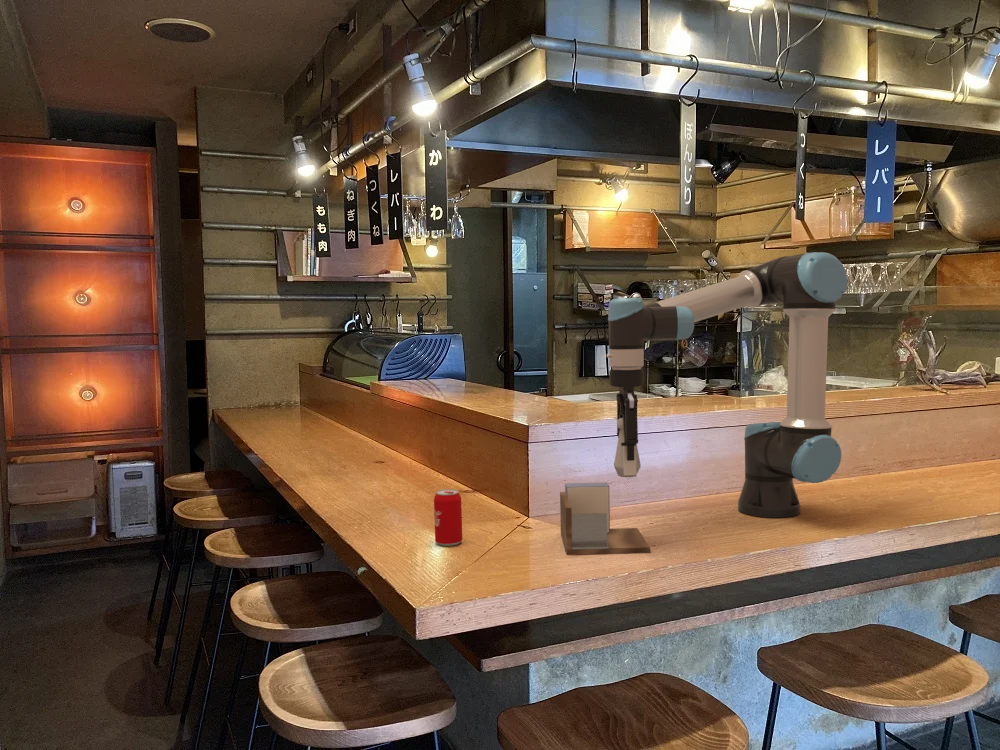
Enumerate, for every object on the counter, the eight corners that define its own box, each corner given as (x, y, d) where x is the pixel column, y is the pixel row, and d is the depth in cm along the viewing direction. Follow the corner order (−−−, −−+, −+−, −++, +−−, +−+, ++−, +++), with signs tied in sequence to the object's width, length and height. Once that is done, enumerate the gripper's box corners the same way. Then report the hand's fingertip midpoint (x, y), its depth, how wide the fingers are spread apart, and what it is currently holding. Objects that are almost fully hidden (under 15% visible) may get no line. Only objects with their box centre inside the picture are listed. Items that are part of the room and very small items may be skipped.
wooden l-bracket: (637, 533, 186) (636, 490, 185) (650, 552, 170) (649, 506, 170) (560, 534, 186) (560, 491, 185) (566, 554, 170) (565, 507, 170)
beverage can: (448, 538, 186) (446, 487, 185) (468, 542, 182) (466, 490, 181) (429, 544, 181) (428, 492, 180) (449, 548, 177) (448, 495, 176)
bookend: (606, 544, 173) (606, 512, 173) (608, 548, 170) (608, 516, 169) (570, 545, 173) (570, 513, 173) (572, 549, 170) (571, 517, 169)
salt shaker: (620, 479, 173) (619, 419, 172) (610, 474, 179) (609, 417, 178) (645, 477, 175) (644, 418, 174) (634, 472, 180) (633, 415, 179)
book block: (607, 528, 186) (606, 482, 185) (610, 533, 182) (609, 486, 181) (565, 529, 186) (565, 483, 185) (567, 534, 182) (566, 487, 181)
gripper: (603, 366, 184) (605, 464, 186) (615, 371, 166) (617, 480, 167) (635, 365, 184) (637, 464, 186) (651, 370, 166) (652, 480, 167)
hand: (627, 471), depth 177 cm, fingers closed on salt shaker, 6 cm apart
